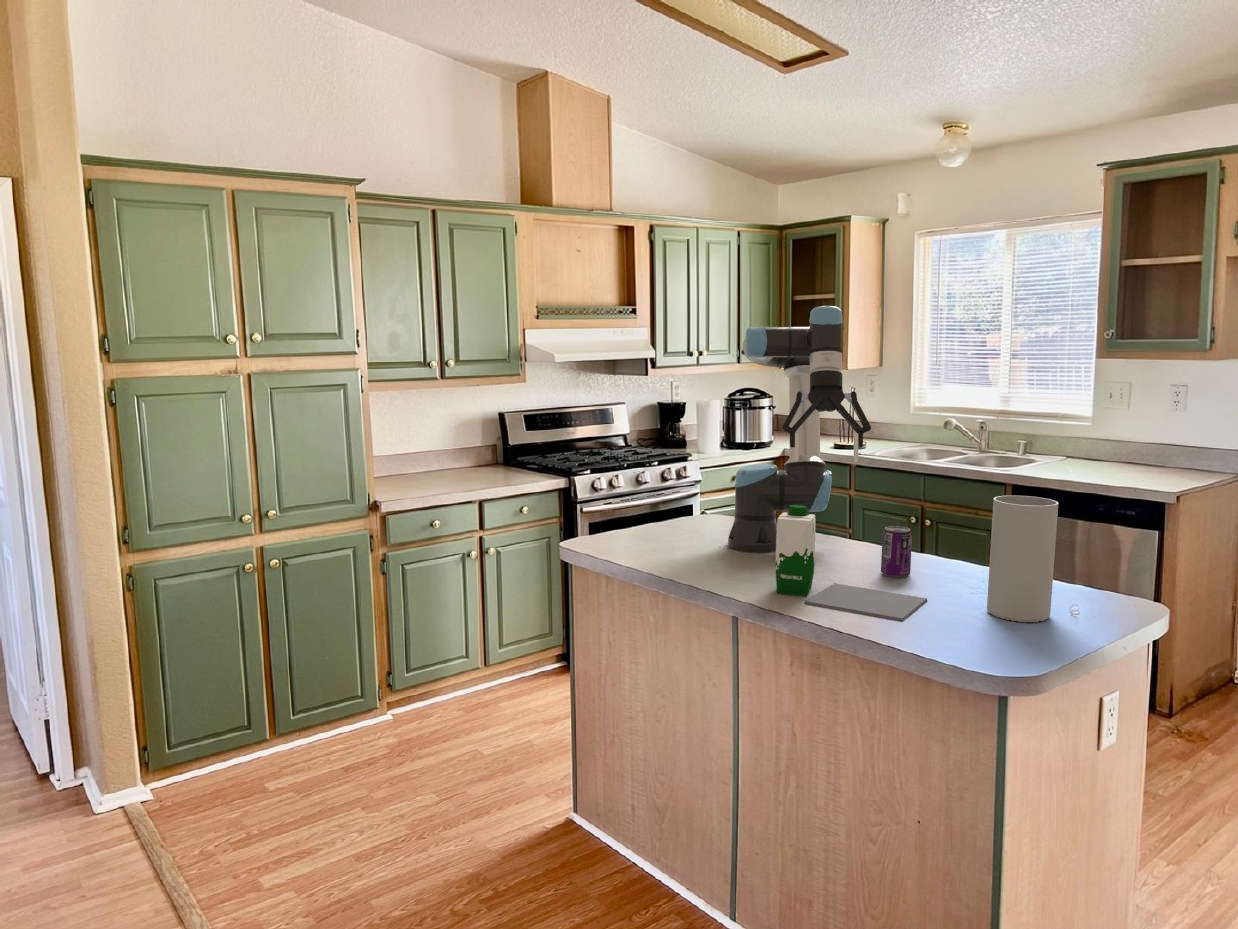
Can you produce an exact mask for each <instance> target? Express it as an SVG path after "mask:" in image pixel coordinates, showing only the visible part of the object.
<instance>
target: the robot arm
mask: <svg viewBox="0 0 1238 929" xmlns="http://www.w3.org/2000/svg"><path fill="white" fill-rule="evenodd" d="M842 312H843V311H842V310H841V308H840V307H838V306H833V305H822V306H817V307H813V309H811V311H810V313H809V314H810V316H809V321H808V322H809V326H760V325H759V326H752V327H751V326H750V327H748V328H746V330H745V338H744V340H743V343H742V350H743V353H744V356H745V357H746V358H747V359H748V360H749V361H750V362H752V363H754V364H757V365H759V366H762V367H763V366H764V367H768V368H783V374H784V376H785V377H787V378H788V380H789V381H788V382H789V383H788V388H789V389H788V392H789V393H788V397H789V398H788V399H789V400H788V401H789V402H788V404H789V407H788V408H789V409H788V410H789V411H788V412H789V414H788V416H787V417H786V419H785V421H784V423H783V425H782V428H781V430H782V432H785V433H788V434H789V458H788V460H787V461H786V462H785V463H784V466H783V469H779V468H778V466H777V465H776V464H767V463H764V464H754V465H748V466H743V467H742V468H740V469H738V470H737V471H736V474H735V482H734V483H735V484H734V487H735V493H734V494H735V497H734V499H735V500H734V520H733V523H732V525H731V529H730V530H729V535H728V538H727V546H728V548H731V549H733V550H736V551H740V552H749V553H771V552H776V535H777V531H776V528H777V512H789V506H790V505H805V506H807V512H808V513H813V512H814V513H816V512H817V513H818V512H823V511H824V510H826V509H827V507H828V504H829V501H830V497H831V490H832V485H833V484H832V482H833V473H832V471H831V470H828V469H827V463H825V461H823V459H822V458H821V419H820V418H821V417H820V416H821V413H822V412H823V413H824V412H829V413H830V412H831V413H832V412H834V411H835V412H837V413H838V414H839V415H840V416H841V417H842V418H843V419H844V420H845V422H847V424H848V425H849V426H850V427H851V428H852V430H854V432H855V433H854V434H853V463H858V462H859V449H862V448H863V446H864V434H865V433H868V432H870V431H871V430H872V426H871V425H870V422H869V420H868V419H867V417H866V414H865V412H864V411H863V409H862V407H861V405H860V403H859V401H858V395H857V392H856V391H854V390H853V391H851V392H847V393H846V392H844V391H843V373H842V371H843V324H844V320H843V313H842ZM845 399H846V400H847V402H848V403H851V406H852V409H853V411H854V412H855V414H856V416H857V418H858V420H859V422H860V424H861V425H860V424H859V423H858V422H857V421H856V420H855V419H854V417H853V416H852V415H851V414H850V413H849V412H848V410H847V409H846V408H845V406H844V405H843V404H842V402H844V400H845ZM861 426H862V427H861Z"/></svg>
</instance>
